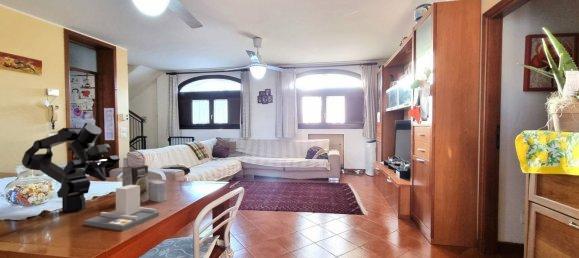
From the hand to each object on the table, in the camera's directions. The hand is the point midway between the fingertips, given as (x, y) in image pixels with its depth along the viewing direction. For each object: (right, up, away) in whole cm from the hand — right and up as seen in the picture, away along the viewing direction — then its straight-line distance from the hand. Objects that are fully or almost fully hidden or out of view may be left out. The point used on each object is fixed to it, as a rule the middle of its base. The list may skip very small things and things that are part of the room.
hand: (104, 180), depth 101 cm
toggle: (+11, -12, -3) cm, 16 cm away
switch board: (+11, -14, -6) cm, 19 cm away
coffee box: (+1, -14, +19) cm, 24 cm away
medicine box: (+11, -14, +20) cm, 26 cm away
